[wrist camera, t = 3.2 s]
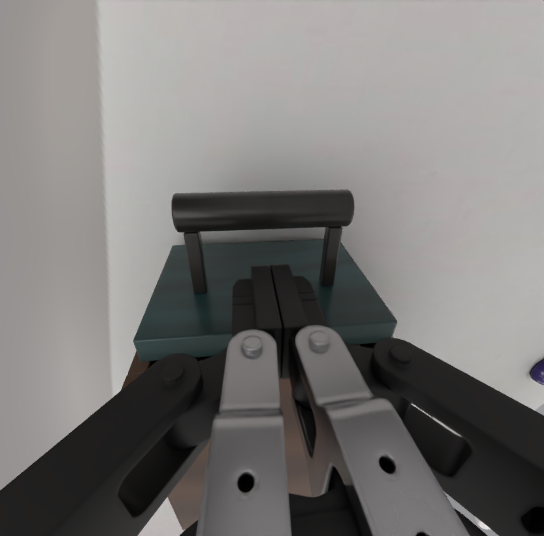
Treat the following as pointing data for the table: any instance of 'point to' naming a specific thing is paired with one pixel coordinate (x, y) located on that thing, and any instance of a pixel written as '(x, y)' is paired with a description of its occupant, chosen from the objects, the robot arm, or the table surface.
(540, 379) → the toy lamp
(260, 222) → the drawer
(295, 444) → the cabinet
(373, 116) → the table surface
